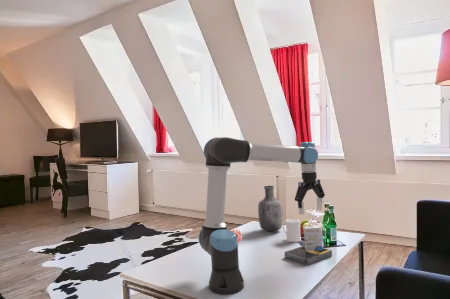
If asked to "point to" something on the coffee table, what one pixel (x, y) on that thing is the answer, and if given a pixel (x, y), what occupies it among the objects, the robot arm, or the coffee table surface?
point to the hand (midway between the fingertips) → (310, 212)
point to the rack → (307, 255)
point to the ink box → (313, 238)
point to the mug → (292, 230)
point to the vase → (270, 211)
